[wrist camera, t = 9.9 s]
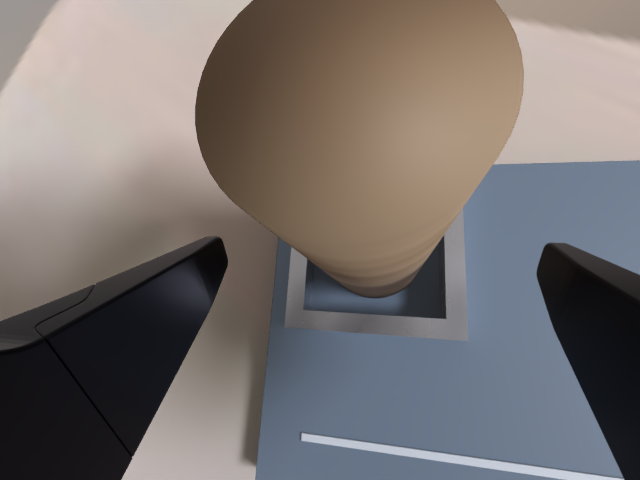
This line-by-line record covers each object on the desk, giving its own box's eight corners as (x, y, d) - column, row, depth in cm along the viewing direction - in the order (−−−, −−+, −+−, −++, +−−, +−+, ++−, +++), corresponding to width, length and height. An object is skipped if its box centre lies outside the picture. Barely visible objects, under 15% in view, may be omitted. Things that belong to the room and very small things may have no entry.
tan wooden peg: (438, 273, 15) (607, 130, 4) (353, 314, 15) (257, 302, 4) (393, 195, 16) (412, -95, 5) (316, 234, 17) (161, 48, 5)
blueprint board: (876, 574, 11) (928, 601, 10) (263, 469, 15) (254, 480, 14) (764, 167, 14) (795, 154, 13) (290, 177, 19) (284, 169, 18)
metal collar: (459, 338, 14) (468, 341, 13) (293, 326, 16) (284, 327, 14) (454, 178, 16) (461, 164, 14) (305, 181, 17) (298, 169, 16)
